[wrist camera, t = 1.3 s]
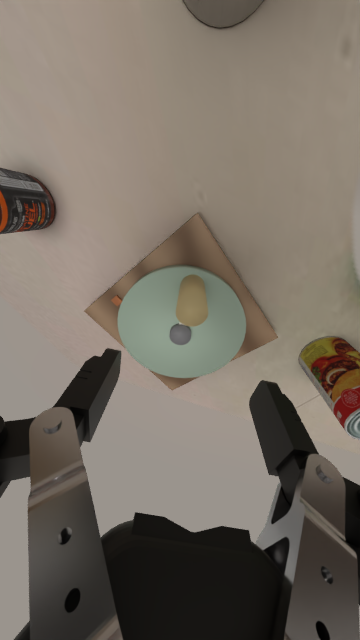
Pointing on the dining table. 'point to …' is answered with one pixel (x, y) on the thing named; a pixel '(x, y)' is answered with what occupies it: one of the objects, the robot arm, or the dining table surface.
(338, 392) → the canned food
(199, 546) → the robot arm
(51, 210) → the supplement bottle
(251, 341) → the base board
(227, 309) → the dial
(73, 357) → the dining table surface
